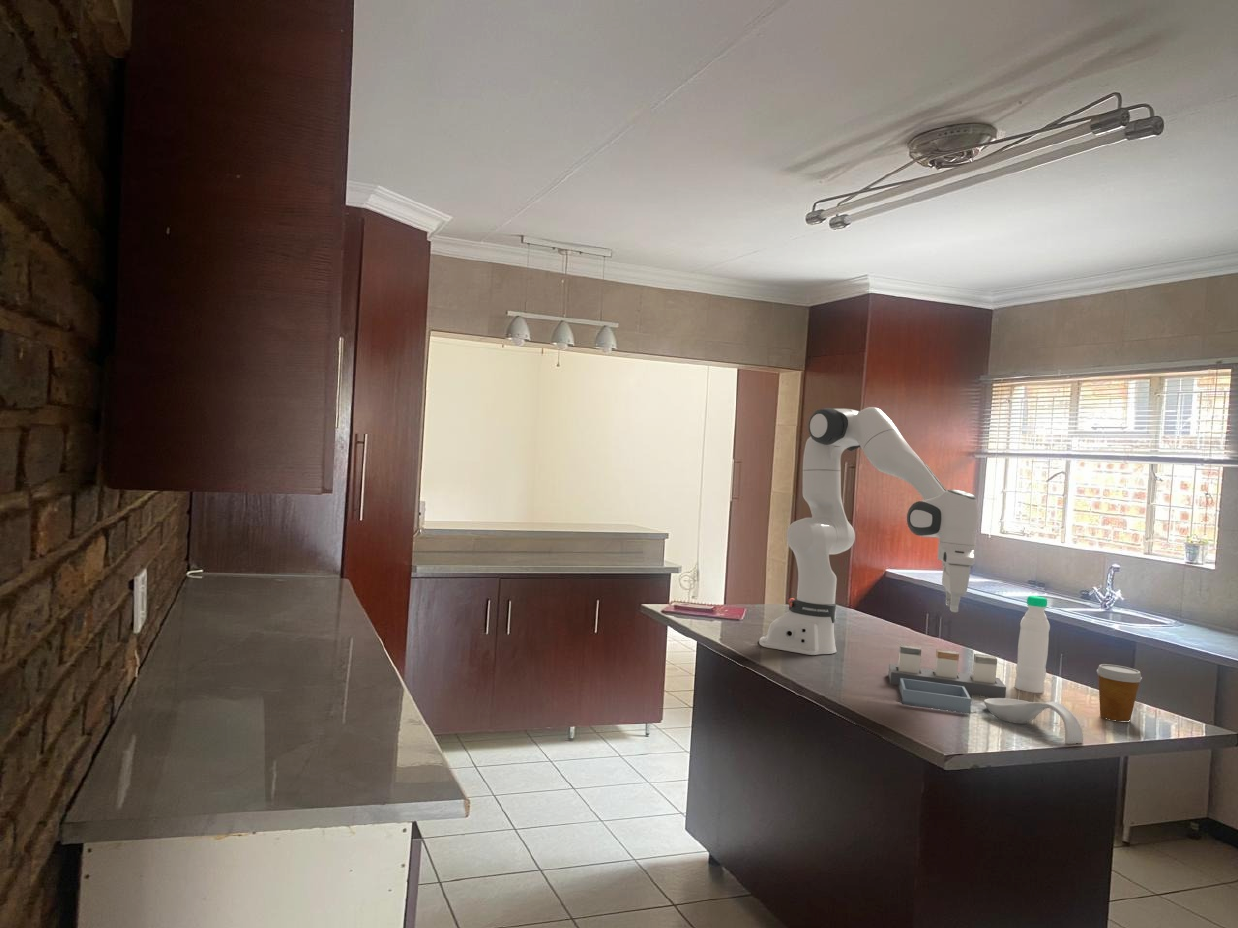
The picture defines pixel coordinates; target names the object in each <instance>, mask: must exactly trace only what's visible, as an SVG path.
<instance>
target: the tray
mask: <svg viewBox="0 0 1238 928" xmlns="http://www.w3.org/2000/svg"><path fill="white" fill-rule="evenodd" d="M898 689H899V692H900V696H901V704H902V705H903V706H904V705H905V706H911V707H918V708H923V709H924V708H925V709H931V708H933V709H932V710H938V709H940V711H946V710H948V712H953V711H956V712H955V713H960V712H962V714H967V713H970V714H971V705H972V698H971V695H969V694H968V692H967V691H966V689H965V687H964V686H956V685H949V684H942V683H934V682H927V681H919V680H912V679H904V678H900V685H898Z"/></svg>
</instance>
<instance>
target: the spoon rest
mask: <svg viewBox="0 0 1238 928" xmlns="http://www.w3.org/2000/svg"><path fill="white" fill-rule="evenodd" d="M983 704H984V706H985V708H986V709H987V710H988V711H989V712H990V713H991V714H992V715H994V716H995V717H996V718H998V719H999V718H1000V720H1002V721H1004V720H1005V722H1008V721H1009V722H1008V723H1012V722H1013V723H1014V724H1026V723H1028V722H1030V721H1032V720H1034V719H1036V717H1037V716H1039V715H1040V714H1041V713H1042V712H1043V711H1044V710H1046V709H1050V710H1053V712H1055V713H1056V714H1057V715H1058V716H1059V717H1060V718H1061V720H1062V721H1063V725H1064V743H1065V744H1066V745H1074V744H1076V743H1078V744H1082V743H1083V742H1084V736H1083V735H1084V734H1083V730H1082V727H1081V724H1080V722H1079V721H1078V719H1077V717H1076V716H1075V714H1074V713H1073V712H1072V711H1071V710H1070V709H1069V708H1067V707H1066V706H1065V705H1064V704H1061V703H1060V702H1058V701H1046V702H1037V701H1036V702H1034V701H1033V702H1032V701H1029V700H1028V701H1027V700H1022V699H1018V698H1017V699H1015V698H1007V697H1005V698H985V699H984V700H983ZM1076 745H1077V744H1076Z"/></svg>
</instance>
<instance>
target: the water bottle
mask: <svg viewBox="0 0 1238 928" xmlns="http://www.w3.org/2000/svg"><path fill="white" fill-rule="evenodd" d="M1026 606H1027V608H1028V609H1027V610H1026V612H1025V613H1024V616H1022V619H1021V620H1020V623H1019V626H1020V630H1019V635H1018V644H1017V663H1016V669H1015V680H1014V688H1015V689H1017V690H1020V691H1023V692H1027V693H1028V692H1029V693H1035V694H1036V693H1037V694H1042V693H1043V694H1044V693H1045V687H1046V686H1045V681H1046V675H1047V670H1046V667H1047V661H1048V653H1049V637H1050V636H1049V635H1050V633H1049V632H1050V630H1051V624H1050V622H1049V620H1048V616H1047V615H1046V613H1045V610H1046V609H1047V606H1048V599H1047V598H1046V597H1043V596H1037V595H1029V596H1027V599H1026Z"/></svg>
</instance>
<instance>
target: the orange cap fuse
mask: <svg viewBox="0 0 1238 928" xmlns="http://www.w3.org/2000/svg"><path fill="white" fill-rule="evenodd" d="M935 653H936V654H935V664H934V665H935V666H934V670H935V674H934V676H942V677H949V678H957V673H959V672H958V669H959V658H960V654H959V652H958V651H955V650H949V649H940V648H936V652H935Z"/></svg>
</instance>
